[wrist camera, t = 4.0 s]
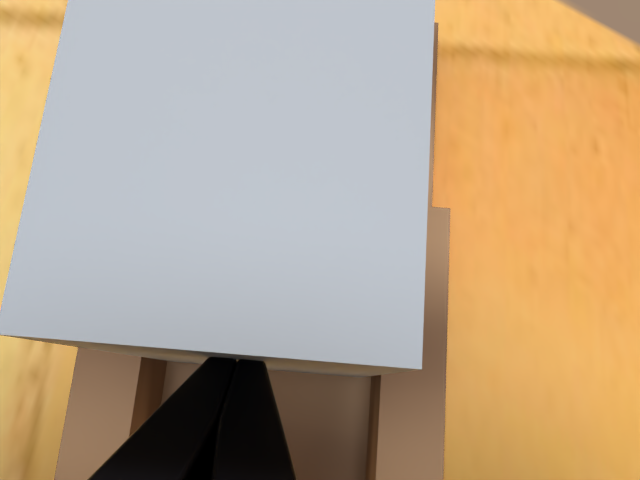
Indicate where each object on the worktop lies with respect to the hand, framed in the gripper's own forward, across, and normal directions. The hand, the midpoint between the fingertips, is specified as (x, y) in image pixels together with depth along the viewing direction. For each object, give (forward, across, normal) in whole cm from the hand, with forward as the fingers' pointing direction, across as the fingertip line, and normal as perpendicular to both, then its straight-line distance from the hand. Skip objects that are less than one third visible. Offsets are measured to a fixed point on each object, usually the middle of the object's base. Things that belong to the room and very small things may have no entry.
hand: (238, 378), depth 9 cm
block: (+7, 0, +3) cm, 7 cm away
